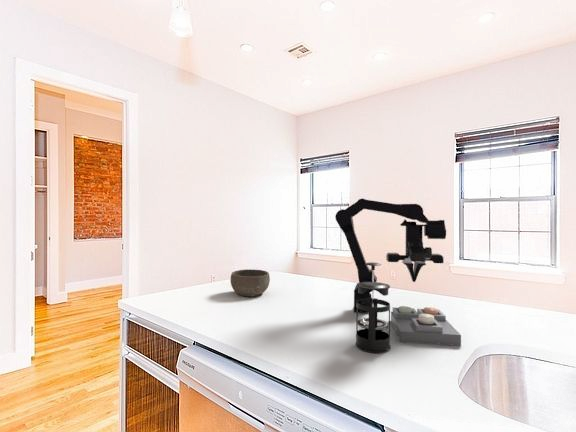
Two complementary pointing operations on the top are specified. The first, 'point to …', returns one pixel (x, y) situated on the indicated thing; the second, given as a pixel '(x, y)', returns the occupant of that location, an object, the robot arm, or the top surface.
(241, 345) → the top surface
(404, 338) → the console
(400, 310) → the sage button
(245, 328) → the top surface
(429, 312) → the terracotta button
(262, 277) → the bowl
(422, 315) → the cream button
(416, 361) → the top surface
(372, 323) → the french press
